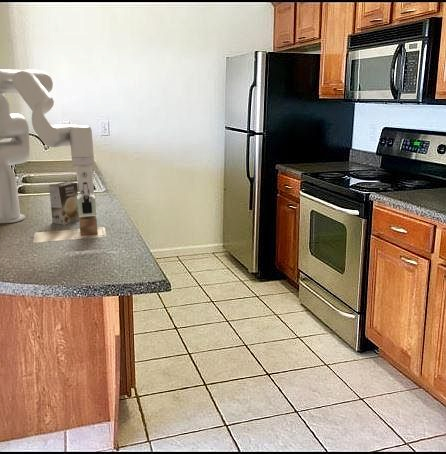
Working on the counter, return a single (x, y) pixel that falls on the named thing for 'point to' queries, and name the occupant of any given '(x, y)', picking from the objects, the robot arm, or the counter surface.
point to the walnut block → (88, 225)
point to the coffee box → (64, 202)
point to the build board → (65, 235)
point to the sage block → (92, 199)
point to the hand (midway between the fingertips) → (87, 210)
